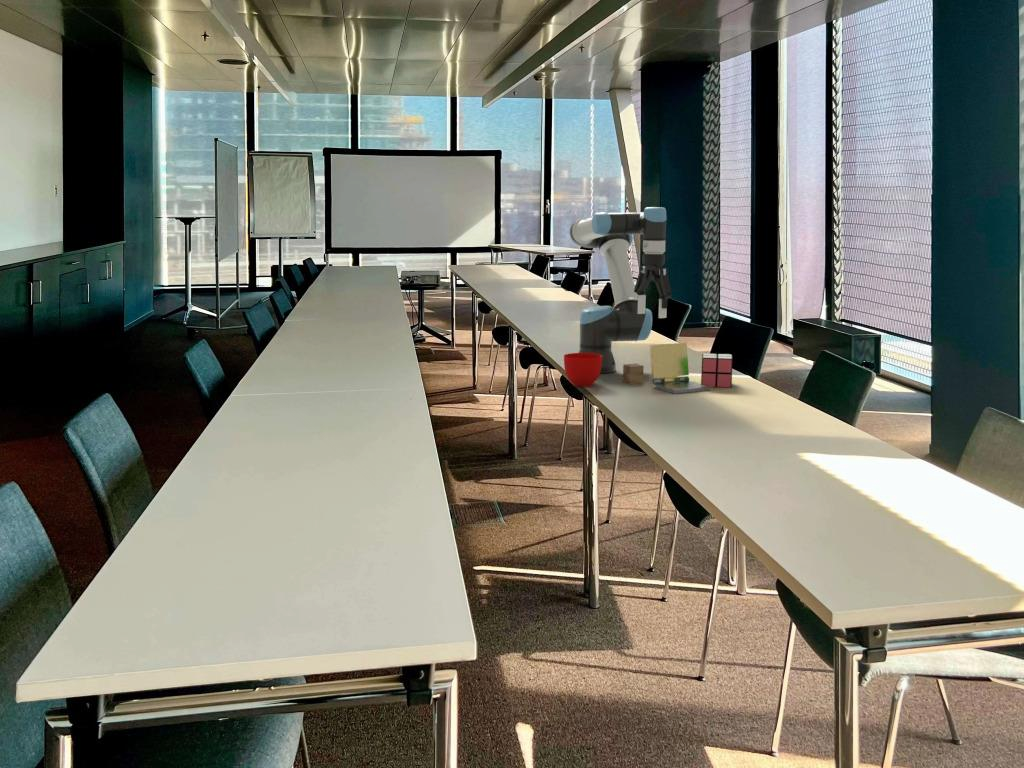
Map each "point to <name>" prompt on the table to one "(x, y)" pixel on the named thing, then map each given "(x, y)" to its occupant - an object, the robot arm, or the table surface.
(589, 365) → the ceramic cup
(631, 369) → the block
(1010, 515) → the table surface
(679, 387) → the hinge base
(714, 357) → the puzzle cube
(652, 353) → the cream square panel
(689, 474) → the table surface
